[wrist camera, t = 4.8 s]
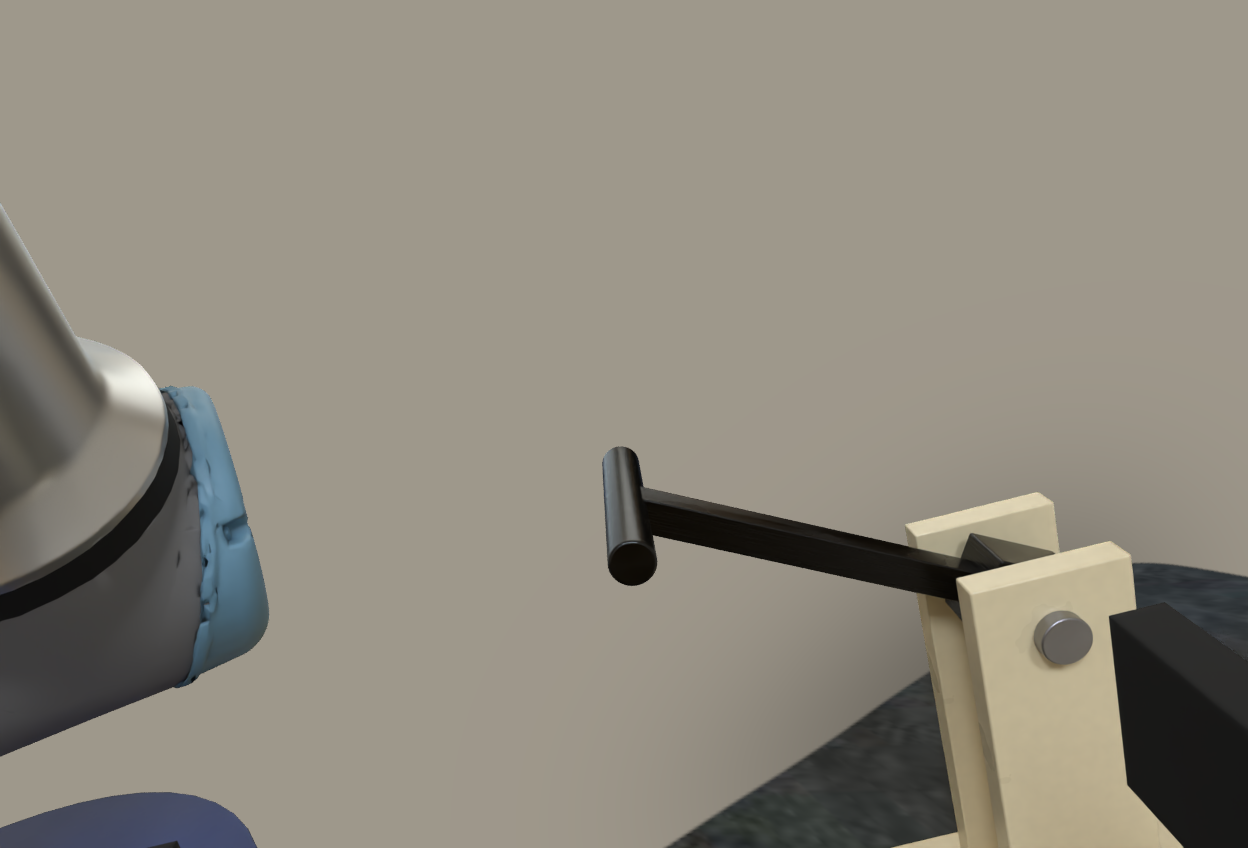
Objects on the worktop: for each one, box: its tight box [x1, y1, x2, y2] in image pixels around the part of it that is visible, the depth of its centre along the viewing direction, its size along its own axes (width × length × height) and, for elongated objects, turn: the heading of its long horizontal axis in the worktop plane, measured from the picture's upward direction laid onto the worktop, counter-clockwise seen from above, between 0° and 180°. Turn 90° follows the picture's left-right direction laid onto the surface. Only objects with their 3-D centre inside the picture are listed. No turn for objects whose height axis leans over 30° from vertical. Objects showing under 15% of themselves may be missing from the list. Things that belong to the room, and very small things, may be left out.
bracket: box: [892, 492, 1184, 848], centre depth 28 cm, size 10×8×15 cm
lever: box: [602, 447, 1055, 621], centre depth 25 cm, size 14×8×2 cm
